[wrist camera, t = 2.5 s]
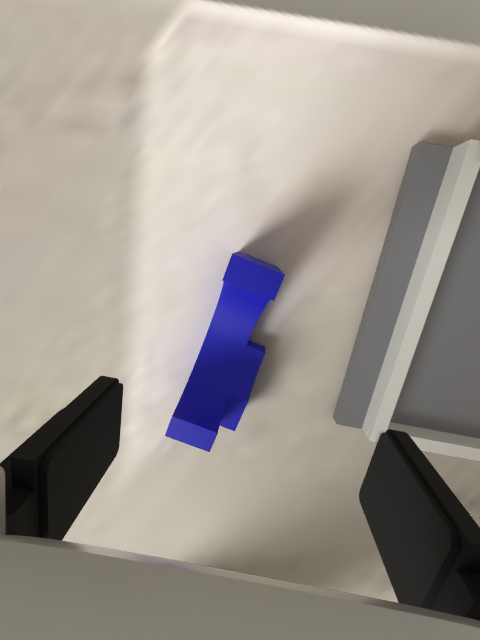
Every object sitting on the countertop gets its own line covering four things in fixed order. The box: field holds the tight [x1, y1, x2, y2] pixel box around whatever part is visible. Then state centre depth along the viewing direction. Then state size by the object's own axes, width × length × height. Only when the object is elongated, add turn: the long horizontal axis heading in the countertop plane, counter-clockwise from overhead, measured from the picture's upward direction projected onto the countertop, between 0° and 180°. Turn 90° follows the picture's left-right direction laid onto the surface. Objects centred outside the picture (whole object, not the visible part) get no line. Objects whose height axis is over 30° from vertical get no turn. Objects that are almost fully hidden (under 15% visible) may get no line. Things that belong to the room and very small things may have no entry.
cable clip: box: [165, 252, 285, 452], centre depth 20 cm, size 12×4×6 cm, turn 159°
